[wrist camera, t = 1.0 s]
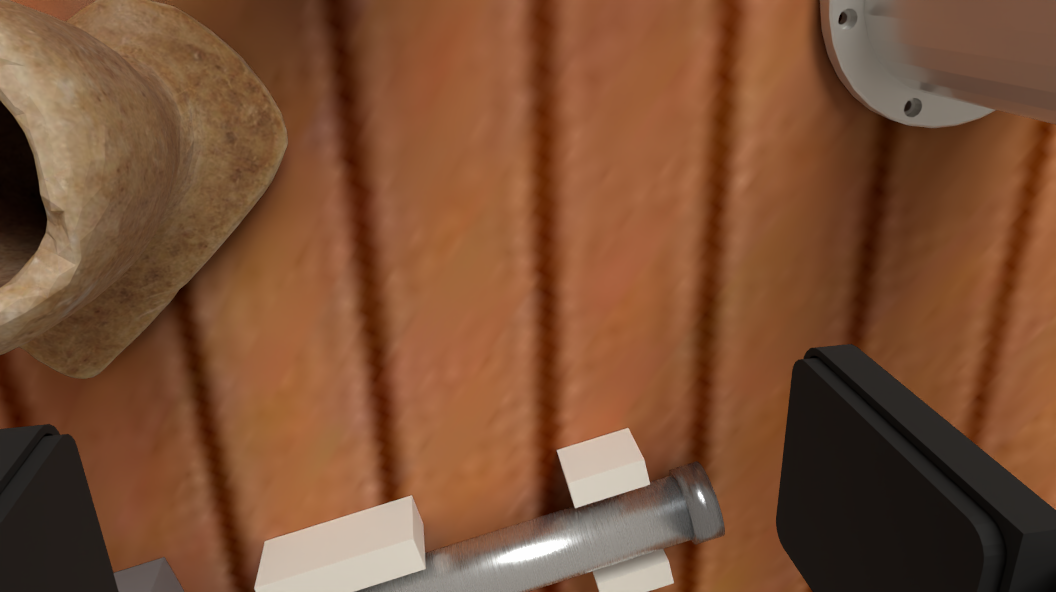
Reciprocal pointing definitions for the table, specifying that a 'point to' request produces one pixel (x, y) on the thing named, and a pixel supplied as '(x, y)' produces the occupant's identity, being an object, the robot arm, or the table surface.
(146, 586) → the socket block
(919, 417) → the robot arm
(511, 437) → the table surface
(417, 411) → the table surface
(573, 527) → the slip tube
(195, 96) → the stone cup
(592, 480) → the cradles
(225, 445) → the table surface
